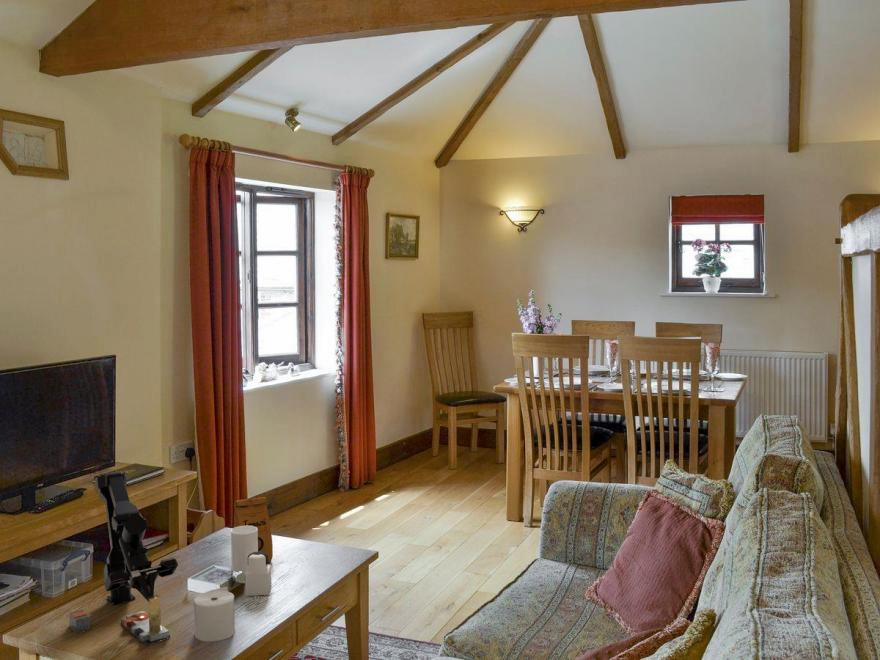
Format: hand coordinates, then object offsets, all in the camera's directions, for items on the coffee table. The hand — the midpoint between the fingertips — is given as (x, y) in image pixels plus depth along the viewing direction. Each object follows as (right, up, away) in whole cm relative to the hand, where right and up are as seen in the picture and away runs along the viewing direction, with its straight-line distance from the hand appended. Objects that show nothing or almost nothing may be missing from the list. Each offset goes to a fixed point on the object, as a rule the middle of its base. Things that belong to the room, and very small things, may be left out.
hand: (151, 602), depth 228 cm
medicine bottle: (+22, -7, +32) cm, 39 cm away
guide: (-3, -9, +5) cm, 11 cm away
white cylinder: (+16, -6, +42) cm, 45 cm away
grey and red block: (-22, -9, +6) cm, 25 cm away
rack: (-3, -8, +3) cm, 9 cm away
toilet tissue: (+16, -10, +4) cm, 19 cm away
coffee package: (+15, -5, +56) cm, 59 cm away
